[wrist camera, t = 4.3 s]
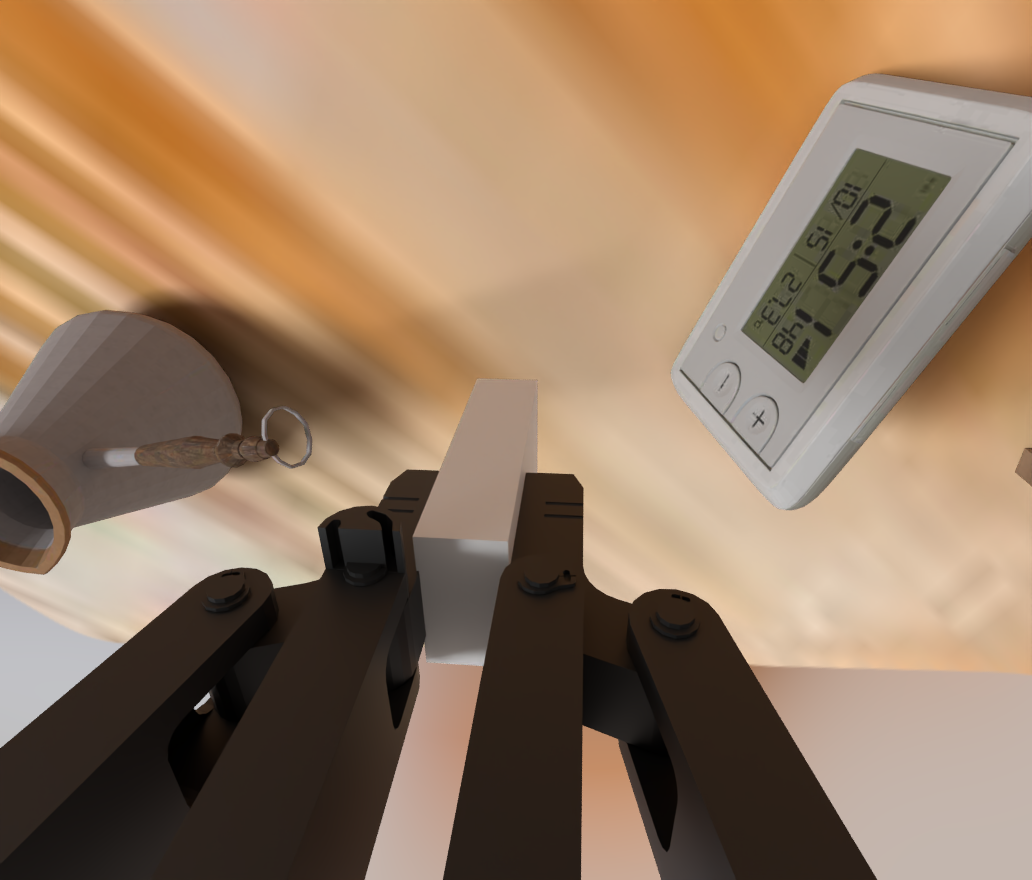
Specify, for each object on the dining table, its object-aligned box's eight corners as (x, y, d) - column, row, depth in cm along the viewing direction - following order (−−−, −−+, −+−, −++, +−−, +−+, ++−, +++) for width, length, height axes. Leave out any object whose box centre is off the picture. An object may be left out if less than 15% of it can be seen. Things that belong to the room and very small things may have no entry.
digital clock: (862, 48, 26) (1014, 15, 17) (1005, 180, 28) (1214, 215, 19) (619, 344, 33) (631, 435, 24) (744, 434, 35) (802, 552, 26)
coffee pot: (147, 489, 41) (-60, 668, 28) (36, 329, 36) (-276, 453, 23) (441, 408, 36) (358, 580, 23) (357, 210, 31) (192, 283, 18)
